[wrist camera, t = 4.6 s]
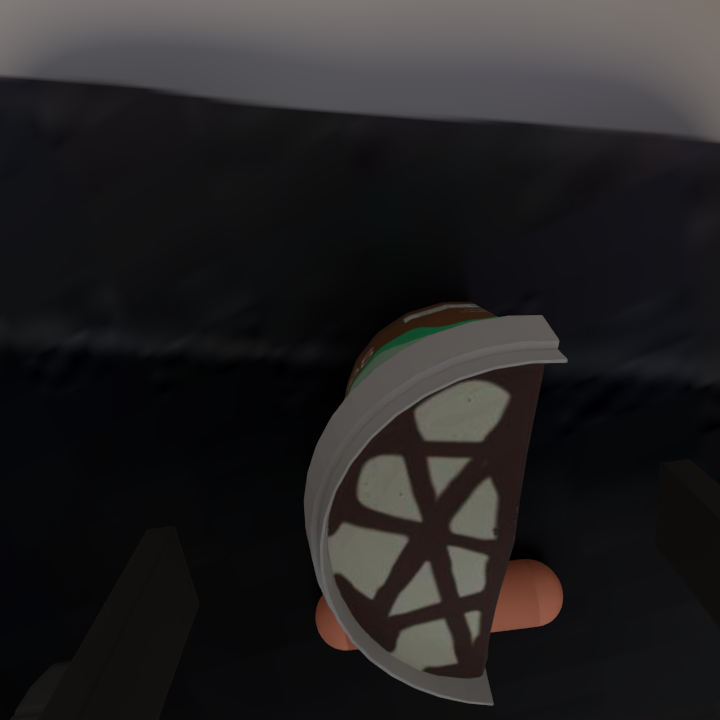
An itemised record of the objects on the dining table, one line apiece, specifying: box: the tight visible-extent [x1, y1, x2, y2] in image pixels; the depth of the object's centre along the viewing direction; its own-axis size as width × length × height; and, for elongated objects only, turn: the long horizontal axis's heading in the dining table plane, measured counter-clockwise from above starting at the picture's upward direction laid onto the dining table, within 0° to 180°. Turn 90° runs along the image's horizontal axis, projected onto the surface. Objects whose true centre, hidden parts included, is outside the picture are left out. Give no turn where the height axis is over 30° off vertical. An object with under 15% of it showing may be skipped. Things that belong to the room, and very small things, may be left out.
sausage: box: [316, 559, 563, 650], centre depth 26 cm, size 12×3×3 cm, turn 98°
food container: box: [304, 302, 567, 705], centre depth 19 cm, size 12×6×10 cm, turn 176°
